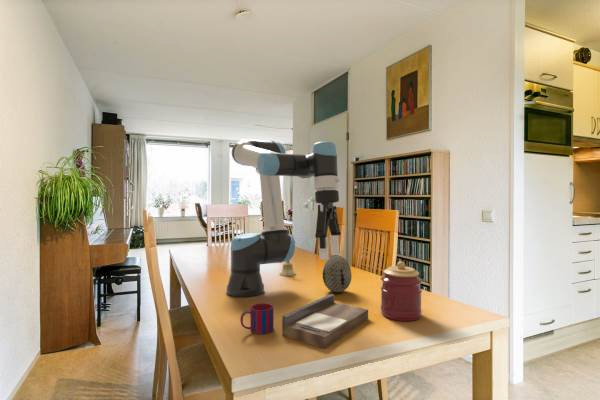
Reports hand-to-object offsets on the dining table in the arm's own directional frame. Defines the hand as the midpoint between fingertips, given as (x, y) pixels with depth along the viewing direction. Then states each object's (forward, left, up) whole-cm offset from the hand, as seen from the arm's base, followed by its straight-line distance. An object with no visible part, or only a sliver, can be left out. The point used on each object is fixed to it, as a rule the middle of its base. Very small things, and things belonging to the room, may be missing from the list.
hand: (330, 257), depth 107 cm
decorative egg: (-13, +28, -20) cm, 37 cm away
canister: (+17, +18, -20) cm, 31 cm away
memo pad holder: (+3, -5, -20) cm, 21 cm away
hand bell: (-48, +40, -20) cm, 66 cm away
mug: (-12, -20, -20) cm, 31 cm away
